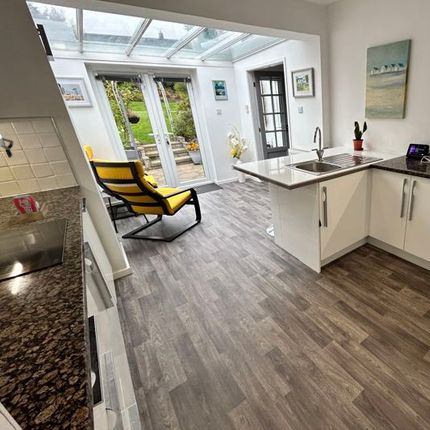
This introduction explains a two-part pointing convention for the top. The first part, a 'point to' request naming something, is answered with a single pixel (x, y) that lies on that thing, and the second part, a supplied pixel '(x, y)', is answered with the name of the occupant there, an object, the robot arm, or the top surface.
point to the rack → (32, 214)
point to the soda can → (25, 204)
